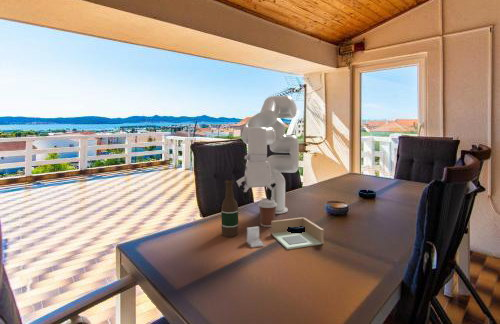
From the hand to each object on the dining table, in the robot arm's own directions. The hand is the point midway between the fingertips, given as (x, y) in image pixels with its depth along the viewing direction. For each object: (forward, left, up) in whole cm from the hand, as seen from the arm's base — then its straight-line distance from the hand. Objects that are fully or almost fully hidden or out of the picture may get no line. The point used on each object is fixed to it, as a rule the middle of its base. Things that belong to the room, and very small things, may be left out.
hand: (257, 200), depth 109 cm
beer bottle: (-11, -9, -17) cm, 22 cm away
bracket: (+2, -2, -17) cm, 18 cm away
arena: (+3, +16, -17) cm, 24 cm away
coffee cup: (-17, +11, -17) cm, 27 cm away
